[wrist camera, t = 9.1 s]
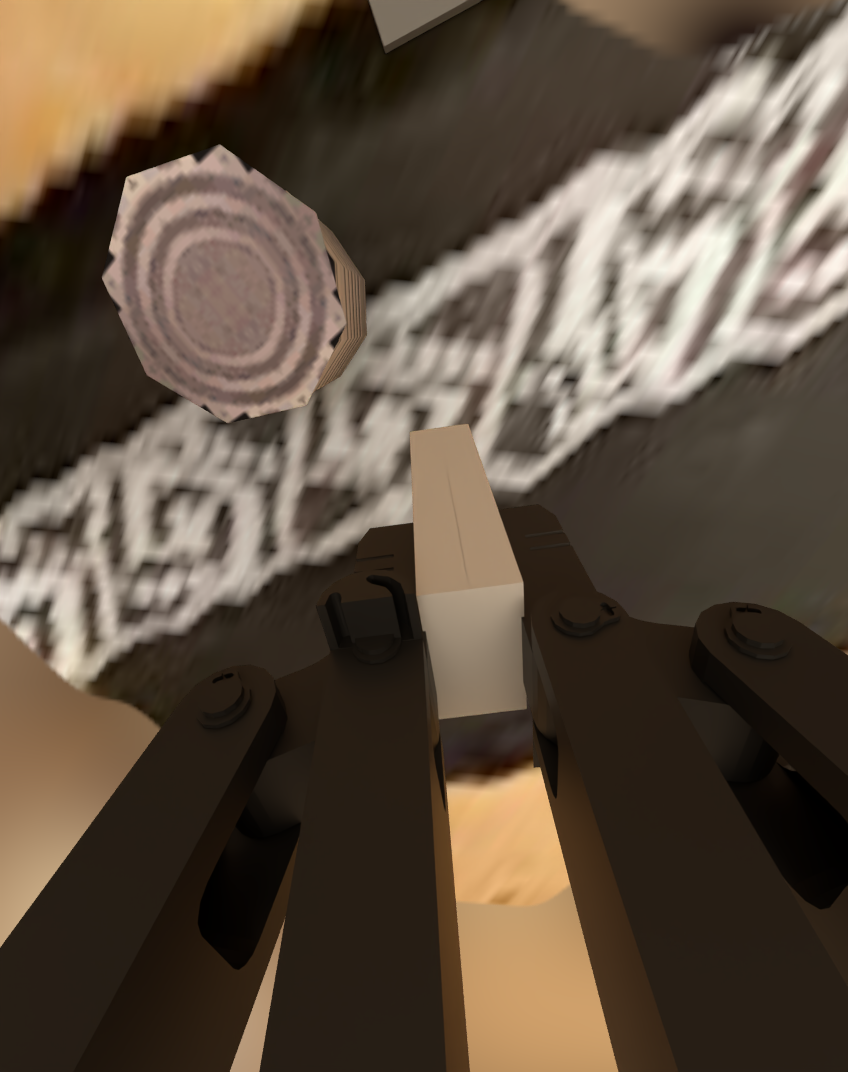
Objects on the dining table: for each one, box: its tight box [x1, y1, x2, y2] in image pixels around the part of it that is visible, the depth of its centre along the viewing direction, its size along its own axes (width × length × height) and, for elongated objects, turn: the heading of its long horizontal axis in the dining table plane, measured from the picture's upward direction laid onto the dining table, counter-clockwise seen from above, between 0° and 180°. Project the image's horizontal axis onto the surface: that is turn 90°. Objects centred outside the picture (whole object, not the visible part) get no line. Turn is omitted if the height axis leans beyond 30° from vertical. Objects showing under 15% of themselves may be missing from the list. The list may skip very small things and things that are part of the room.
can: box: [102, 145, 367, 423], centre depth 28 cm, size 11×11×12 cm
